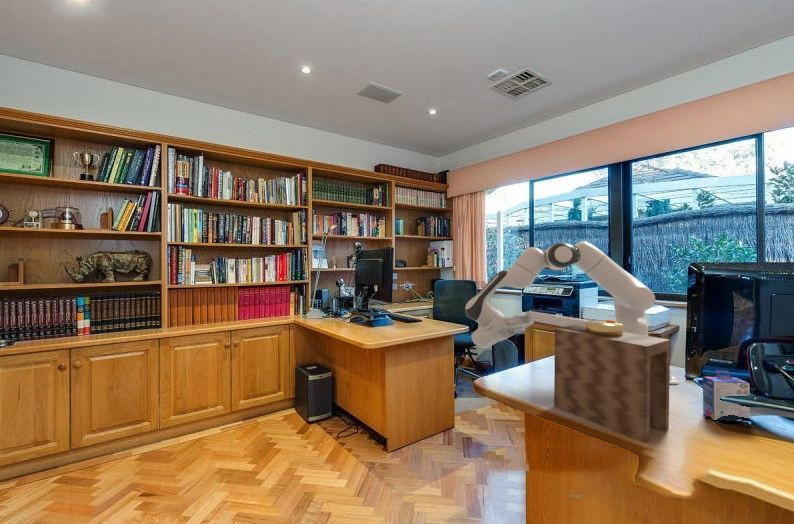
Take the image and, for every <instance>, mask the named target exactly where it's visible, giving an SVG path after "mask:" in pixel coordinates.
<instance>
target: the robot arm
mask: <svg viewBox="0 0 794 524" xmlns="http://www.w3.org/2000/svg"><path fill="white" fill-rule="evenodd" d="M570 266H575V267H577V268H579V269H580V270H581V271H582V273H584V274H585V275H586V276H587V277H589V278H590V279H592V281H594V283H595V284H596V285H598V286H599V287H600V288H602V289H603V290H604V291H605V292H607V293H608V294H609V295H611V296H612V298H613V308H614V314H615V322H616V323H620V324H623V332H628V333H633V334H639V335H645V336H649V324H648V320H647V317H646V311H648V310H650V309H651V308H652V307H653V306H654V305H655V303H656V295H655V294H654V292H653V290H651V289H650V288H649V287H648V286H647V285H645V284H644V283H643V282H642V281H640V280H639V279H637V277H635V276H634V275H632V274H631V273H630V272H628V271H626V270H625V269H624V268H623V267H621V266H620V265H619V264H618V263H616V262H615V261H613V259H612V258H610V257H609V256H608V255H606V253H604V251H602V250H601V249H599V248H598V247H596V246H595V245H593V244H592V243H589V242H588V241H585V240H584V241H579V242H577V243H575V244H571V243H566V242H557V243H554V244H552V245H551V246H549V247H548V248H546V249H545V250H541V249H540V248H539V247H534V246H532V247H527V248H526V249H525V250H524V251H523V252H522V253H521V254H520V255H519V256H518V257H517V259H516V260H515V261H514V263H513V264H512V266H511V267H509V268H508V269H506V270H503V269H502V270H501V271H498V272H497V273H496V274H494V276H493V277H492V278H491V279H490V280H489V281H488V282H487V283H486V284H485V285H484V286H483V287H482V288H481V290H479V291H478V292H477V293H476V294H475V295H474V296H473V297H471V298H470V299H469V300H468V301H467V303H466V304H465V307H464V313H465V314H466V317H467V318H468V319H470V320H473V321H474V322H476V323H478V324H480V327H478V328H476V330H474V331H473V332H472V333H471V340H472V342H473V344H474V345H475V346H477V347H478V348H482V349H484V348H489V347H491V346H494V345H495V344H497V343H499V342H502V341H505V340H507V339H508V338H511V337H512V336H515V335H518V334H520V333H521V331H523V330H525V329H527V328H529V327H531V326H532V325H534V323H535V321H530V320H526V314H525V315H518V314H517V315H514V316H511V317H506V316H505V315H504V314H505V313H502V311H500V310H499V309H497V308H496V307H494V306H493V305H491V304H489V303H488V302H487V301H488V300H489V299H490V297H492V295H494V294H495V292H496V291H498V289H500V288H501V287H508V288H513V289H517V290H518V289H526V288H528V287H530V286H531V285H532V284H533V283H534V282H535V280H536V278H537V277H538V275H540V274H539V273H541V271H542V270H544V269H545V270H549V271H562V270H564V269H567V268H568V267H570ZM678 384H679V380H678V378H676V377H675V376H673V375H672V371H671V369H670V370H669V385H678Z"/></svg>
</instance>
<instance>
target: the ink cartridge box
mask: <svg viewBox="0 0 794 524" xmlns="http://www.w3.org/2000/svg"><path fill="white" fill-rule="evenodd" d="M721 373H724V374H721ZM715 374H716V376H702V398H703V399H702V405H703V406H702V408H703V409H702V413H703V414H702V415H704V416H705V415H706V417H707V416H710V417H711V418H712V419H713V420H717V419H718V418H720V417H722V416H728V415H735V416H738V417H744V418H750V416H751V415H750V413H751V412H750V407H746V406H741V405H738V404H734V403H730V402H726V401H722V400H720V397H721V398H722V397H727V396H747V395H750V391H751V390H750V382H748V381H746V380H743V379H741V378H738V377H732V375H731V373H730V372H729V370H721V369H720V370H719V369H715ZM726 374H727V375H726ZM712 419H711V420H712ZM713 420H712V421H713Z"/></svg>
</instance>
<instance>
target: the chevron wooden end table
mask: <svg viewBox="0 0 794 524" xmlns="http://www.w3.org/2000/svg"><path fill="white" fill-rule="evenodd" d="M670 347H671V339H667V338H661V337H657V336H656V337H655V336H651V335H650V336H649V335H648V336H645V335H639V334H633V333H628V332H623V336H619V337H608V336H599V335H593V334H589V333H587V332H586V331H585V330H579V329H574V328H568V327H563V326H560V327H557V328H554V376H553V377H554V379H553V380H554V382H553V383H554V385H553V387H554V390H553V394H554V396H553V397H554V402H553V405H554V407H555V408H558V409H560V410H562V411H566V412H568V413H570V414H572V415H576V416H578V417H581V418H583V419H585V420H587V421H591V422H593V423H595V424H598V425H600V426H603V427H606V428H608V429H611V430H612V431H615V432H618V433H621V434H623V435H625V436H627V437H630V438H633V439H635V440H639V441H640V442H644V443H645V444H646V443H649V442H650V441H651V439H650V437H651V436H650V428H651V427H650V426H652V427H654V428H657V429H659V430H662V431H665V432H666V431H668V430H669V424H670V422H669V421H670V384H669V370H670V371H671V368H670V367H671V366H670V362H671V361H670V357H671V356H670V355H671V353H670V352H671V348H670Z"/></svg>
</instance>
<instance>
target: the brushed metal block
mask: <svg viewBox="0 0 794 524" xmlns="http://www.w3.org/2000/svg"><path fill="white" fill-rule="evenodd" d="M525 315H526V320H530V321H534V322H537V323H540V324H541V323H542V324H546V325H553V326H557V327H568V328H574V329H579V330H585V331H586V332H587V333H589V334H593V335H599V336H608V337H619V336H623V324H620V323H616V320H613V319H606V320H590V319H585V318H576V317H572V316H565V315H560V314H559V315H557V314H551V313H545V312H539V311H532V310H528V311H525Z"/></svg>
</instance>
